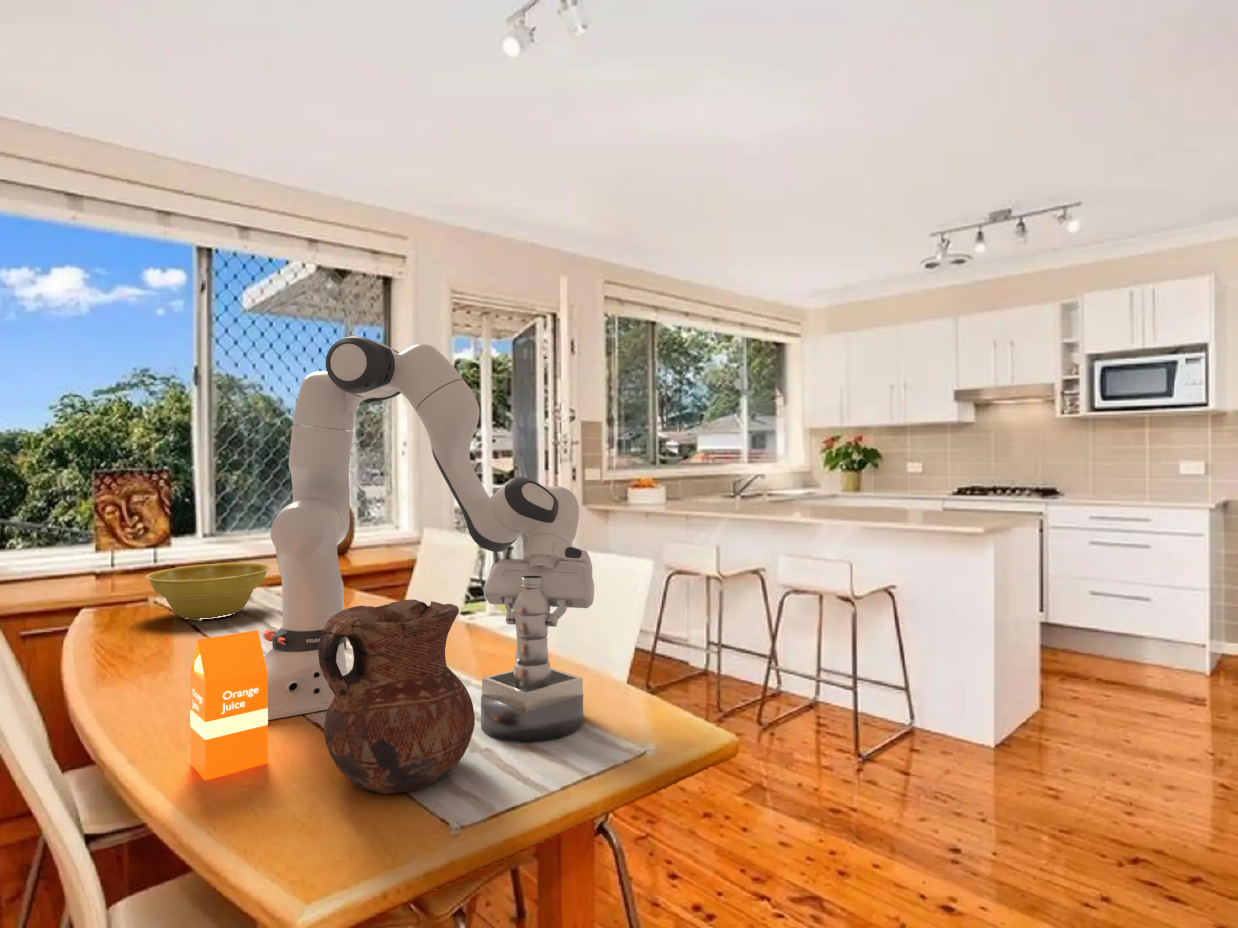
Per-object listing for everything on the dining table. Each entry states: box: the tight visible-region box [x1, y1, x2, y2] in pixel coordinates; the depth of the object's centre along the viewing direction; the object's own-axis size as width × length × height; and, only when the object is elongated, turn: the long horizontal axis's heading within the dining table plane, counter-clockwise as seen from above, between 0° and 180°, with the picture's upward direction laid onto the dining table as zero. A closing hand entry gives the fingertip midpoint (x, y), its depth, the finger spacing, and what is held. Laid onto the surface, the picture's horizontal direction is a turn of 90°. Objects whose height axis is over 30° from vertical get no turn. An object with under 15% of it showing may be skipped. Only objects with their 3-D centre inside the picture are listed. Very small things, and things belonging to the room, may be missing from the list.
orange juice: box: [189, 629, 269, 781], centre depth 113 cm, size 8×9×20 cm
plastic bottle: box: [512, 575, 551, 691], centre depth 131 cm, size 6×7×20 cm
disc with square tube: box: [480, 667, 584, 744], centre depth 132 cm, size 18×20×8 cm
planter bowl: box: [144, 562, 271, 619], centre depth 217 cm, size 32×32×13 cm
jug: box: [318, 599, 476, 794], centre depth 110 cm, size 22×21×25 cm
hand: (530, 623), depth 130 cm, fingers closed on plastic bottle, 6 cm apart
